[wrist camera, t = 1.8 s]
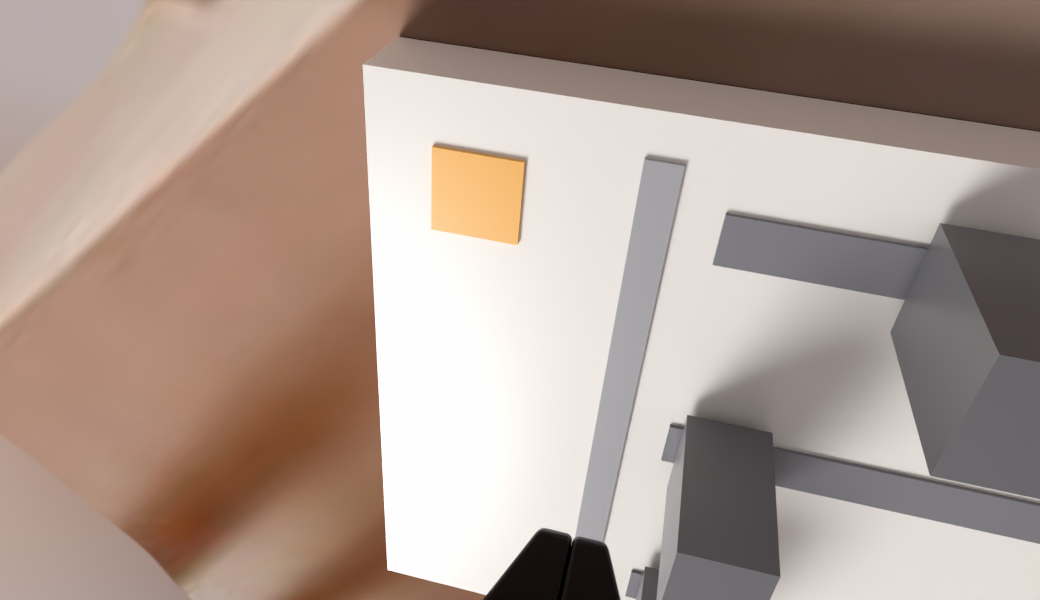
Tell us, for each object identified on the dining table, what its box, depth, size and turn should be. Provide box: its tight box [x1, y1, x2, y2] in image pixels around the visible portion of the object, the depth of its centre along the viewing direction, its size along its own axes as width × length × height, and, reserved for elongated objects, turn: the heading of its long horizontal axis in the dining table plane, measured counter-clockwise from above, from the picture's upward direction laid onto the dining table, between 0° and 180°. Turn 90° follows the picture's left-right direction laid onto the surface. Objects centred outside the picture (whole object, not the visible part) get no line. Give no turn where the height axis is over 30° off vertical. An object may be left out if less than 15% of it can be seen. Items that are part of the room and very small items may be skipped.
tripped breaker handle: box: [890, 223, 1040, 499], centre depth 13 cm, size 2×3×4 cm
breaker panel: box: [363, 37, 1040, 600], centre depth 19 cm, size 23×17×2 cm
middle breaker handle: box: [656, 415, 780, 600], centre depth 17 cm, size 2×3×4 cm
